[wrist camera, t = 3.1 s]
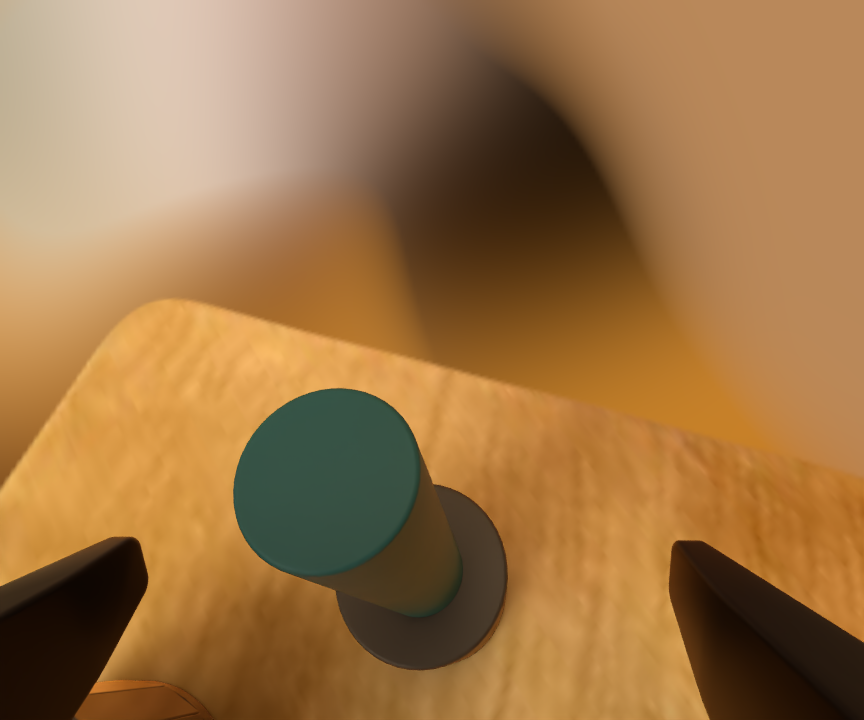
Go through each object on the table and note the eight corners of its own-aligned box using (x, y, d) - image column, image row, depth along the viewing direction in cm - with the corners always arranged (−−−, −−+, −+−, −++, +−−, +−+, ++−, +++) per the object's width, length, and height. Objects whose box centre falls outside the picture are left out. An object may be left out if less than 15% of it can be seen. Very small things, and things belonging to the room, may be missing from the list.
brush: (525, 638, 15) (590, 616, 4) (392, 684, 15) (135, 772, 4) (479, 504, 17) (450, 273, 6) (361, 543, 17) (135, 369, 6)
